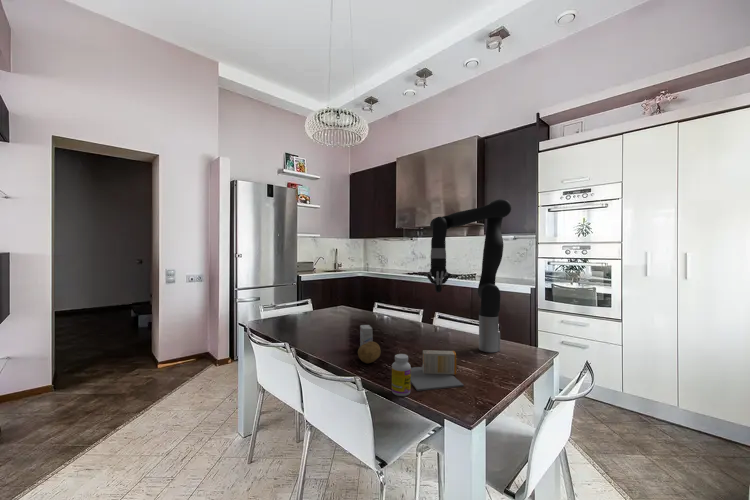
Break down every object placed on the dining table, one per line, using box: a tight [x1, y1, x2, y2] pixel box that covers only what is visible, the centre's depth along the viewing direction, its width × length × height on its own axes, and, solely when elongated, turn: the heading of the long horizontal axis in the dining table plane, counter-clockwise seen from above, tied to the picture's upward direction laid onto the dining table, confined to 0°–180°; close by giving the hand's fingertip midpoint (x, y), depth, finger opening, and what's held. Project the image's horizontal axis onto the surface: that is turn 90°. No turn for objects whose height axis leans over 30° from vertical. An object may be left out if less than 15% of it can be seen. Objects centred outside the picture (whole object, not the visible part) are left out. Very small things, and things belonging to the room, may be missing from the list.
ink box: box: [359, 324, 374, 348], centre depth 158 cm, size 9×5×12 cm, turn 13°
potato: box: [357, 341, 382, 364], centre depth 142 cm, size 10×14×8 cm
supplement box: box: [422, 349, 457, 375], centre depth 129 cm, size 8×5×13 cm
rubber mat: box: [411, 366, 465, 392], centre depth 125 cm, size 18×20×1 cm
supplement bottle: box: [391, 353, 412, 397], centre depth 112 cm, size 7×7×13 cm
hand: (438, 292), depth 159 cm, fingers closed
